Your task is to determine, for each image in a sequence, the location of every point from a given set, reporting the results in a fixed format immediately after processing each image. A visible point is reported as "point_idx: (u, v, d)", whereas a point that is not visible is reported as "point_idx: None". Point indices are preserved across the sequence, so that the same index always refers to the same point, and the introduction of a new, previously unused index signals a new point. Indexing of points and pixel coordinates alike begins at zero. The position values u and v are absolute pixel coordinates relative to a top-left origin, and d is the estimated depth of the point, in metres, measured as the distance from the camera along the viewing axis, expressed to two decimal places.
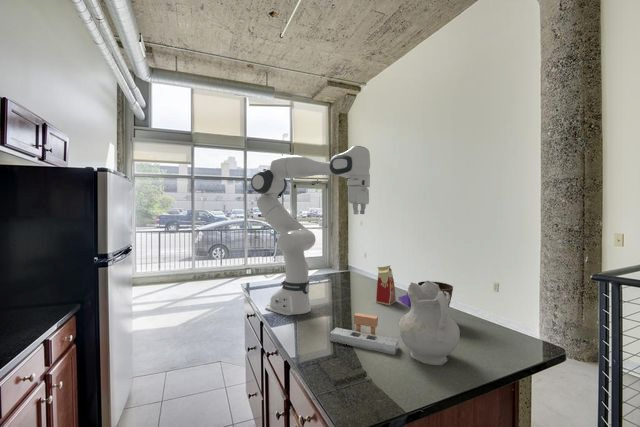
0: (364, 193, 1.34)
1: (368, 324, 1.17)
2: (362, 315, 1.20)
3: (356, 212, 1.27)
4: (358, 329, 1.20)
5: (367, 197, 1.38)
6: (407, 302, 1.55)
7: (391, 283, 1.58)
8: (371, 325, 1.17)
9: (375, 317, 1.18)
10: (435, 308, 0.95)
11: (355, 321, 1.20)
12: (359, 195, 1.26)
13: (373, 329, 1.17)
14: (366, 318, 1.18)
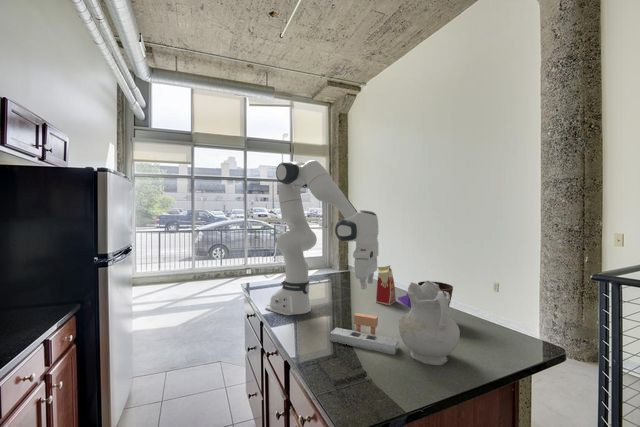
0: (372, 261, 1.21)
1: (368, 324, 1.17)
2: (362, 315, 1.20)
3: (364, 287, 1.14)
4: (358, 329, 1.20)
5: (375, 264, 1.24)
6: (407, 302, 1.55)
7: (391, 283, 1.58)
8: (371, 325, 1.17)
9: (375, 317, 1.18)
10: (435, 308, 0.95)
11: (355, 321, 1.20)
12: (367, 268, 1.13)
13: (373, 329, 1.17)
14: (366, 318, 1.18)
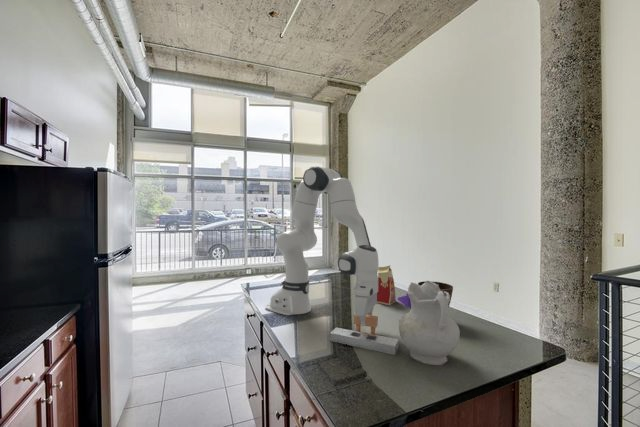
0: (372, 296, 1.21)
1: (368, 324, 1.17)
2: None
3: (364, 323, 1.14)
4: (358, 329, 1.20)
5: (375, 298, 1.25)
6: (407, 303, 1.54)
7: (391, 283, 1.58)
8: (371, 325, 1.17)
9: (375, 317, 1.18)
10: (435, 308, 0.95)
11: (355, 321, 1.20)
12: (367, 306, 1.13)
13: (373, 329, 1.17)
14: (366, 318, 1.18)
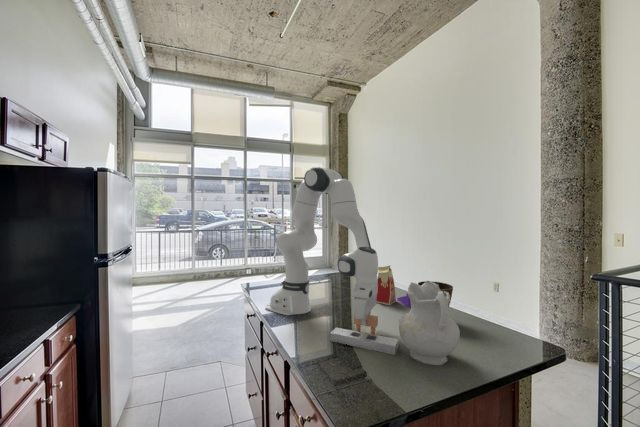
0: (371, 298, 1.21)
1: (368, 324, 1.17)
2: None
3: (364, 323, 1.17)
4: (358, 329, 1.20)
5: (374, 299, 1.25)
6: (407, 303, 1.54)
7: (391, 283, 1.58)
8: (371, 325, 1.17)
9: (375, 317, 1.18)
10: (435, 308, 0.95)
11: (355, 321, 1.20)
12: (366, 307, 1.13)
13: (373, 329, 1.17)
14: (366, 318, 1.18)
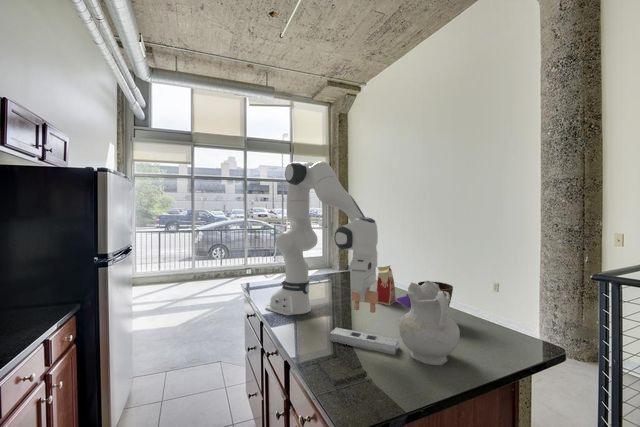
0: (370, 273, 1.11)
1: (367, 300, 1.07)
2: None
3: (363, 299, 1.07)
4: (356, 306, 1.10)
5: (374, 275, 1.15)
6: (407, 303, 1.53)
7: (391, 283, 1.58)
8: (371, 301, 1.07)
9: (375, 292, 1.08)
10: (435, 308, 0.95)
11: (353, 297, 1.09)
12: (365, 281, 1.03)
13: (373, 305, 1.07)
14: (365, 294, 1.08)
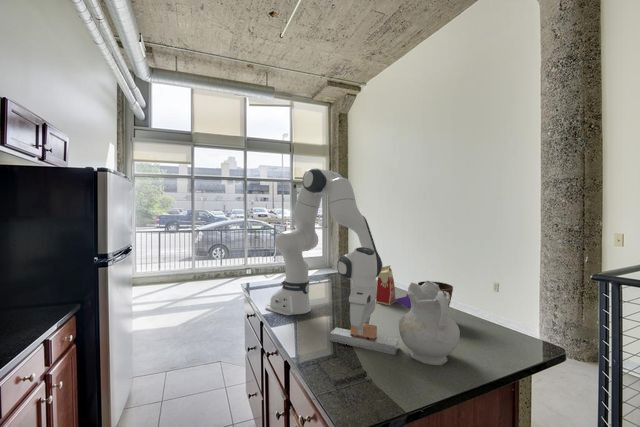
0: (369, 303, 1.11)
1: (366, 334, 1.08)
2: None
3: (361, 332, 1.05)
4: None
5: (373, 304, 1.15)
6: (407, 304, 1.53)
7: (391, 283, 1.58)
8: (369, 336, 1.07)
9: (374, 327, 1.08)
10: (435, 308, 0.95)
11: (352, 331, 1.10)
12: (364, 314, 1.03)
13: None
14: (364, 328, 1.08)
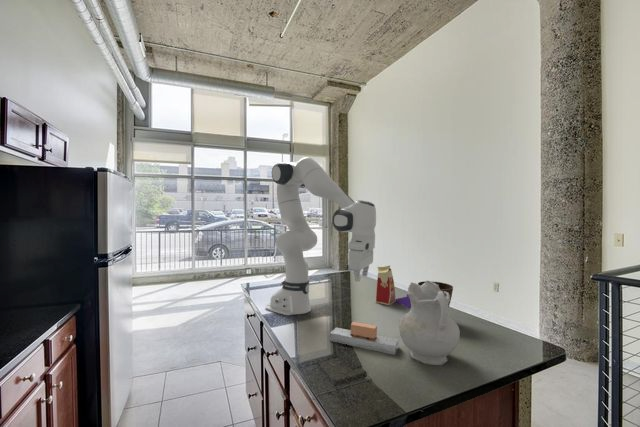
0: (368, 254, 1.17)
1: (366, 334, 1.08)
2: (360, 324, 1.10)
3: (358, 279, 1.11)
4: None
5: (371, 256, 1.21)
6: (408, 304, 1.52)
7: (391, 283, 1.58)
8: (369, 336, 1.07)
9: (374, 327, 1.08)
10: (435, 308, 0.95)
11: (352, 331, 1.10)
12: (362, 260, 1.09)
13: None
14: (364, 328, 1.08)
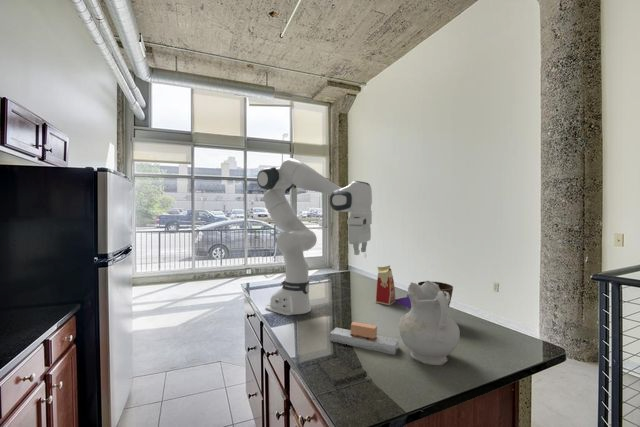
0: (365, 230, 1.26)
1: (366, 334, 1.08)
2: (360, 324, 1.10)
3: (357, 253, 1.19)
4: None
5: (369, 233, 1.30)
6: (408, 304, 1.52)
7: (391, 283, 1.58)
8: (369, 336, 1.07)
9: (374, 327, 1.08)
10: (435, 308, 0.95)
11: (352, 331, 1.10)
12: (360, 235, 1.18)
13: None
14: (364, 328, 1.08)
